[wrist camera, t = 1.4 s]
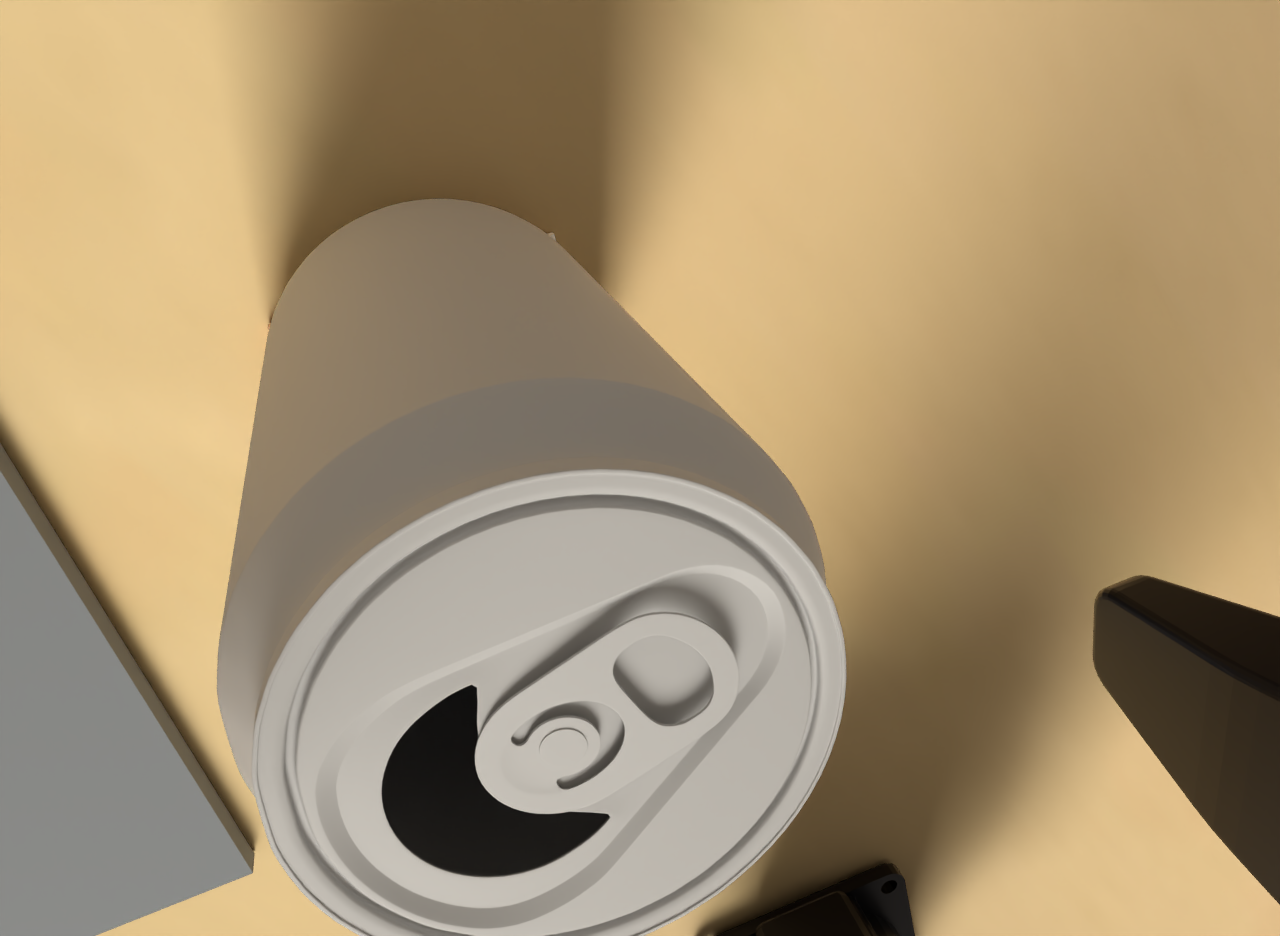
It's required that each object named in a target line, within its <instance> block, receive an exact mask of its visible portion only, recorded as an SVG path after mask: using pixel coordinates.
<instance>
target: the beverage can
mask: <svg viewBox="0 0 1280 936" xmlns="http://www.w3.org/2000/svg"><path fill="white" fill-rule="evenodd" d="M845 690H846V653H845V643H844V637H843V631H842V627H841V624H840V620H839V617H838V613H837V610H836V607H835V604H834V601H833V599H832V596H831V594H830V592H829V590H828V588H827V586H826V579H825V569H824V563H823V558H822V553H821V550H820V546H819V543H818V540H817V536H816V533H815V530H814V527H813V524H812V521H811V519H810V517H809V515H808V513H807V511H806V509H805V507H804V505H803V503H802V501H801V500H800V498H799V496H798V494H797V492H796V490H795V489H794V487H793V486H792V484H791V483H790V481H789V480H788V479H787V477H786V476H785V475H784V473H783V472H782V471H781V470H780V469H779V467H778V466H777V465H776V464H775V463H774V462H773V460H772V459H771V458H770V457H769V456H768V455H767V454H766V453H765V451H764V450H763V449H762V448H761V447H760V446H759V445H758V444H757V443H756V442H755V441H754V440H753V439H752V438H751V437H750V436H749V435H748V434H747V433H746V432H745V431H744V430H743V429H742V428H741V427H740V426H739V425H738V424H737V423H736V422H735V421H734V420H733V419H732V418H731V417H730V416H729V415H728V414H727V413H726V412H725V411H724V410H723V409H722V408H721V407H720V406H719V405H718V404H717V403H716V402H715V401H714V400H713V399H712V398H711V397H710V396H709V395H708V394H707V393H706V392H705V391H704V390H703V389H702V388H701V387H700V386H699V385H698V384H697V383H696V382H695V381H694V380H693V378H692V377H691V376H690V375H689V374H688V373H687V372H686V371H685V370H684V369H683V368H682V367H681V366H680V365H679V364H678V363H677V362H676V361H675V360H674V359H673V358H672V357H671V356H670V355H669V354H668V353H667V352H666V351H665V350H664V349H663V348H662V347H661V346H660V345H659V344H658V343H657V342H656V341H655V340H654V339H653V338H652V337H651V336H650V335H649V334H648V333H647V332H646V331H645V330H644V329H643V328H642V327H641V326H640V325H639V324H638V323H637V322H636V321H635V320H634V319H633V318H632V317H631V316H630V315H629V314H628V313H627V312H626V311H625V310H624V309H623V308H622V307H621V306H620V305H619V304H618V303H617V302H616V301H615V300H614V299H613V298H612V297H611V296H610V295H609V294H608V293H607V292H606V291H605V290H604V289H603V287H602V286H601V285H600V284H599V283H598V282H597V281H596V280H595V279H594V278H593V277H592V276H591V275H590V274H589V273H588V272H587V271H586V270H585V269H584V268H583V267H582V266H581V265H580V264H579V263H578V262H577V261H576V260H575V259H574V258H573V257H572V256H571V255H570V254H569V253H568V252H567V251H566V250H565V249H564V248H563V247H562V246H561V245H560V244H559V243H557V242H556V241H555V240H554V239H553V238H551V237H550V236H549V235H548V234H546V233H545V232H544V231H542V230H541V229H539V228H538V227H536V226H535V225H533V224H531V223H529V222H528V221H526V220H524V219H522V218H520V217H518V216H516V215H514V214H512V213H509V212H506V211H504V210H501V209H499V208H496V207H492V206H489V205H485V204H481V203H476V202H471V201H466V200H456V199H423V200H414V201H408V202H402V203H398V204H394V205H390V206H387V207H384V208H381V209H378V210H375V211H372V212H370V213H368V214H366V215H364V216H361V217H359V218H357V219H355V220H354V221H352V222H350V223H348V224H347V225H345V226H343V227H342V228H340V229H339V230H337V231H336V232H334V233H333V234H331V235H330V236H329V237H328V238H326V239H325V240H324V241H323V242H322V243H321V244H319V245H318V246H317V247H316V248H315V249H314V250H313V251H312V252H311V253H310V254H309V255H308V256H307V257H306V258H305V260H304V261H303V262H302V264H301V265H300V266H299V267H298V269H297V270H296V271H295V273H294V274H293V276H292V277H291V279H290V280H289V282H288V283H287V285H286V287H285V289H284V291H283V293H282V295H281V297H280V299H279V301H278V303H277V306H276V308H275V310H274V313H273V317H272V320H271V324H270V328H269V332H268V337H267V342H266V349H265V355H264V361H263V368H262V374H261V380H260V387H259V393H258V399H257V405H256V412H255V418H254V424H253V431H252V437H251V443H250V450H249V456H248V462H247V469H246V475H245V481H244V488H243V494H242V500H241V507H240V513H239V519H238V526H237V532H236V538H235V544H234V551H233V557H232V563H231V570H230V576H229V582H228V589H227V595H226V601H225V608H224V614H223V620H222V627H221V633H220V639H219V649H218V667H217V695H218V703H219V707H220V712H221V716H222V720H223V723H224V727H225V730H226V734H227V737H228V740H229V744H230V747H231V750H232V753H233V756H234V759H235V762H236V764H237V767H238V770H239V772H240V774H241V776H242V778H243V779H244V781H245V783H246V785H247V786H248V788H249V789H250V791H251V792H252V794H253V795H254V796H255V798H256V802H257V806H258V809H259V813H260V816H261V820H262V823H263V826H264V829H265V832H266V835H267V838H268V841H269V844H270V846H271V849H272V851H273V853H274V854H275V856H276V858H277V860H278V861H279V863H280V864H281V866H282V867H283V869H284V870H285V871H286V873H287V874H288V876H289V877H290V878H291V880H292V881H293V882H294V883H295V885H296V886H297V887H298V888H299V890H300V891H301V892H302V893H303V894H304V895H305V896H306V897H307V898H308V899H309V900H310V901H311V902H312V903H313V904H315V905H316V906H317V907H318V908H319V909H320V910H322V911H323V912H324V913H325V914H326V915H328V916H329V917H330V918H332V919H333V920H334V921H336V922H337V923H339V924H341V925H342V926H344V927H346V928H347V929H349V930H351V931H352V932H354V933H356V934H358V935H360V936H644V935H646V934H649V933H651V932H653V931H655V930H657V929H659V928H661V927H663V926H665V925H667V924H669V923H671V922H673V921H675V920H677V919H679V918H681V917H683V916H684V915H686V914H688V913H689V912H691V911H692V910H694V909H696V908H697V907H699V906H700V905H702V904H703V903H705V902H706V901H708V900H709V899H711V898H712V897H714V896H716V895H717V894H718V893H720V892H721V891H722V890H724V889H725V888H726V887H727V886H729V885H730V884H731V883H732V882H734V881H735V880H736V879H737V878H738V877H740V876H741V875H742V874H743V873H744V872H745V871H746V870H747V869H749V868H750V867H751V866H752V865H753V864H754V863H755V862H756V861H757V860H758V859H759V858H760V857H761V856H762V855H763V854H764V853H765V852H766V851H767V850H768V849H769V848H770V847H771V846H772V845H773V844H774V843H775V841H776V840H777V839H778V838H779V837H780V836H781V835H782V833H783V832H784V831H785V830H786V829H787V827H788V826H789V825H790V823H791V822H792V821H793V819H794V818H795V817H796V815H797V814H798V813H799V811H800V810H801V808H802V807H803V805H804V803H805V802H806V800H807V799H808V797H809V796H810V794H811V792H812V791H813V789H814V787H815V785H816V783H817V781H818V780H819V778H820V776H821V774H822V772H823V769H824V767H825V765H826V763H827V761H828V758H829V756H830V753H831V750H832V748H833V745H834V742H835V739H836V736H837V733H838V729H839V725H840V721H841V717H842V712H843V706H844V700H845Z"/></svg>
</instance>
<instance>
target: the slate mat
mask: <svg viewBox="0 0 1280 936" xmlns="http://www.w3.org/2000/svg"><path fill="white" fill-rule="evenodd" d="M253 866H254V852H253V850H252V849H251V847H250V846H249V844H248V842H247V841H246V839H245V837H244V836H243V834H242V833H241V831H240V829H239V828H238V826H237V825H236V823H235V821H234V820H233V818H232V816H231V815H230V813H229V812H228V810H227V808H226V807H225V805H224V804H223V802H222V800H221V799H220V797H219V795H218V794H217V792H216V791H215V789H214V787H213V786H212V784H211V783H210V781H209V779H208V778H207V776H206V774H205V773H204V771H203V770H202V768H201V766H200V765H199V763H198V762H197V760H196V758H195V757H194V755H193V753H192V752H191V750H190V749H189V747H188V745H187V744H186V742H185V741H184V739H183V737H182V736H181V734H180V732H179V731H178V729H177V728H176V726H175V724H174V723H173V721H172V720H171V718H170V716H169V715H168V713H167V711H166V710H165V708H164V707H163V705H162V703H161V702H160V700H159V699H158V697H157V695H156V694H155V692H154V690H153V689H152V687H151V686H150V684H149V682H148V681H147V679H146V678H145V676H144V674H143V673H142V671H141V669H140V668H139V666H138V665H137V663H136V661H135V660H134V658H133V657H132V655H131V653H130V652H129V650H128V648H127V647H126V645H125V644H124V642H123V640H122V639H121V637H120V636H119V634H118V632H117V631H116V629H115V627H114V626H113V624H112V623H111V621H110V619H109V618H108V616H107V615H106V613H105V611H104V610H103V608H102V606H101V605H100V603H99V602H98V600H97V598H96V597H95V595H94V594H93V592H92V590H91V589H90V587H89V585H88V584H87V582H86V581H85V579H84V577H83V576H82V574H81V573H80V571H79V569H78V568H77V566H76V564H75V563H74V561H73V560H72V558H71V556H70V555H69V553H68V552H67V550H66V548H65V547H64V545H63V543H62V542H61V540H60V539H59V537H58V535H57V534H56V532H55V531H54V529H53V527H52V526H51V524H50V522H49V521H48V519H47V518H46V516H45V514H44V513H43V511H42V510H41V508H40V506H39V505H38V503H37V501H36V500H35V498H34V497H33V495H32V493H31V492H30V490H29V489H28V487H27V485H26V484H25V482H24V480H23V479H22V477H21V476H20V474H19V472H18V471H17V469H16V468H15V466H14V464H13V463H12V461H11V459H10V458H9V456H8V455H7V453H6V451H5V450H4V448H3V447H2V445H1V443H0V936H96V935H98V934H101V933H103V932H106V931H108V930H111V929H113V928H116V927H118V926H121V925H123V924H126V923H128V922H131V921H133V920H136V919H138V918H141V917H143V916H146V915H148V914H151V913H154V912H156V911H159V910H161V909H164V908H166V907H169V906H171V905H174V904H176V903H179V902H181V901H184V900H186V899H189V898H191V897H194V896H196V895H199V894H201V893H204V892H206V891H209V890H211V889H214V888H216V887H219V886H221V885H224V884H226V883H229V882H231V881H234V880H237V879H239V878H242V877H244V876H247V875H249V874H252V873H253Z"/></svg>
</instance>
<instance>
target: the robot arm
mask: <svg viewBox="0 0 1280 936" xmlns="http://www.w3.org/2000/svg"><path fill="white" fill-rule="evenodd" d="M1093 662H1094V666H1095V669H1096V672H1097V674H1098V676H1099V678H1100V680H1101V682H1102V684H1103V685H1104V687H1105V688H1106V689H1107V691H1108V692H1109V693H1110V695H1111V696H1112V697H1113V699H1114V700H1115V701H1116V703H1117V704H1118V705H1119V707H1120V708H1121V709H1122V711H1123V712H1124V713H1125V715H1126V716H1127V717H1128V719H1129V720H1130V722H1131V723H1132V724H1133V726H1134V727H1135V728H1136V730H1137V731H1138V732H1139V734H1140V735H1141V736H1142V738H1143V739H1144V740H1145V742H1146V743H1147V744H1148V746H1149V747H1150V748H1151V750H1152V751H1153V752H1154V754H1155V755H1156V756H1157V758H1158V759H1159V760H1160V762H1161V763H1162V764H1163V766H1164V767H1165V768H1166V770H1167V771H1168V772H1169V774H1170V775H1171V776H1172V778H1173V779H1174V780H1175V782H1176V783H1177V784H1178V786H1179V787H1180V789H1181V790H1182V791H1183V793H1184V794H1185V795H1186V797H1187V798H1188V799H1189V801H1190V802H1191V803H1192V805H1193V806H1194V807H1195V808H1196V810H1197V811H1198V812H1199V814H1200V815H1201V816H1202V817H1203V819H1204V820H1205V821H1206V822H1207V824H1208V825H1209V826H1210V827H1211V829H1212V830H1213V831H1214V832H1215V833H1216V835H1217V836H1218V837H1219V838H1220V839H1221V840H1222V841H1223V843H1224V844H1225V845H1226V846H1227V847H1228V848H1229V849H1230V851H1231V852H1232V853H1233V854H1234V855H1235V856H1236V857H1237V858H1238V859H1239V861H1240V862H1241V863H1242V864H1243V865H1244V866H1245V867H1246V868H1247V869H1248V870H1249V872H1250V873H1251V874H1252V875H1253V876H1254V877H1255V878H1256V879H1257V880H1258V881H1259V882H1260V884H1261V885H1262V886H1263V887H1264V888H1265V889H1266V890H1267V891H1268V892H1269V893H1270V895H1271V896H1272V897H1273V898H1274V899H1275V900H1276V901H1277V902H1278V903H1279V904H1280V617H1278V616H1275V615H1272V614H1269V613H1266V612H1262V611H1259V610H1256V609H1253V608H1250V607H1246V606H1243V605H1240V604H1237V603H1234V602H1231V601H1227V600H1224V599H1221V598H1218V597H1215V596H1211V595H1208V594H1205V593H1202V592H1199V591H1196V590H1192V589H1189V588H1186V587H1183V586H1180V585H1176V584H1173V583H1170V582H1167V581H1164V580H1161V579H1157V578H1154V577H1150V576H1143V575H1140V576H1134V577H1131V578H1128V579H1126V580H1123V581H1121V582H1119V583H1116V584H1114V585H1111V586H1109V587H1107V588H1104V589H1103V590H1101V591H1100V592H1099V593H1098V595H1097V597H1096V599H1095V603H1094V630H1093ZM717 936H915V934H914V928H913V923H912V917H911V912H910V907H909V901H908V896H907V890H906V885H905V880H904V878H903V876H902V874H901V873H900V871H899V870H898V868H897V867H896V866H895V865H893V864H888V863H886V864H882V865H879V866H877V867H875V868H872V869H870V870H868V871H865V872H863V873H861V874H858V875H856V876H854V877H851V878H849V879H847V880H845V881H842V882H840V883H838V884H835V885H833V886H831V887H828V888H826V889H824V890H821V891H819V892H817V893H815V894H812V895H810V896H808V897H805V898H803V899H801V900H798V901H796V902H794V903H791V904H789V905H787V906H784V907H782V908H780V909H778V910H775V911H773V912H771V913H768V914H766V915H764V916H761V917H759V918H757V919H754V920H752V921H750V922H747V923H745V924H743V925H741V926H738V927H736V928H734V929H731V930H729V931H727V932H724V933H722V934H720V935H717Z"/></svg>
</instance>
